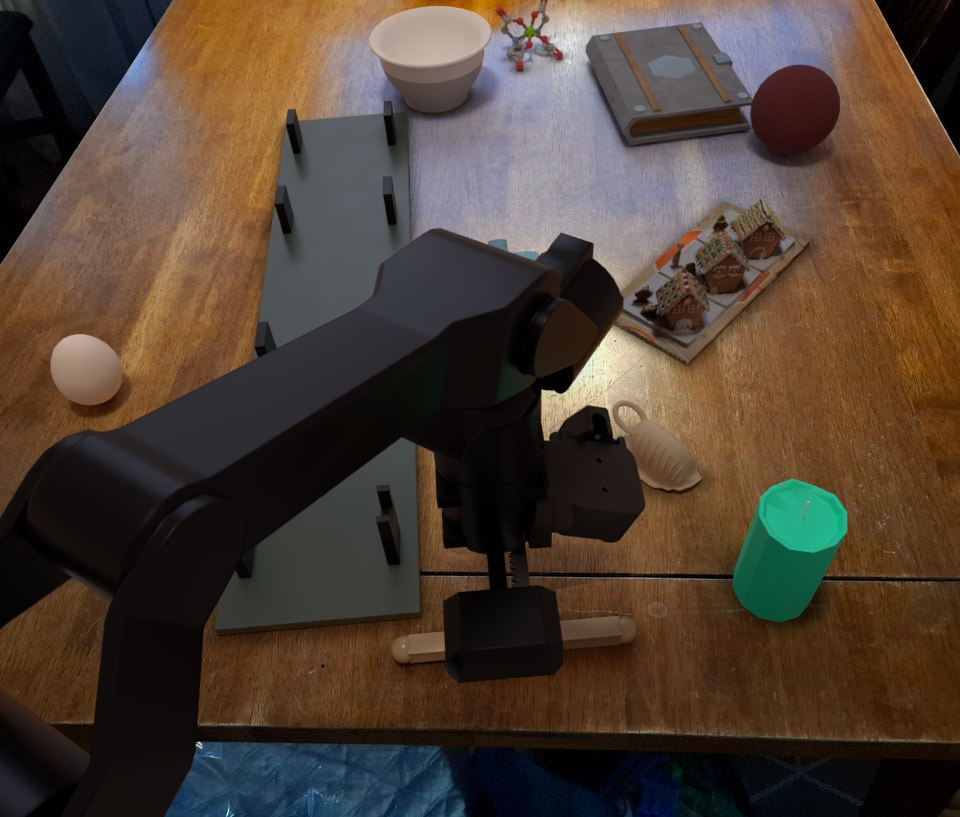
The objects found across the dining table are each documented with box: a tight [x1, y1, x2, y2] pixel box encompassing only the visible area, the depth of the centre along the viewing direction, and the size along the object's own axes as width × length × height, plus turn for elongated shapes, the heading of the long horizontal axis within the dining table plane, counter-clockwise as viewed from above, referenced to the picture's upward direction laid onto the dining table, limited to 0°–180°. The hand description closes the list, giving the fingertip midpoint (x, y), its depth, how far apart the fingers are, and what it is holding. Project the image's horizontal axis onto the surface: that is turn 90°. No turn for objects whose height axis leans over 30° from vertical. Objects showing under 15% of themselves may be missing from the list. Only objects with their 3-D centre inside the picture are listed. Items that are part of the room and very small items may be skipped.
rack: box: [214, 100, 422, 636], centre depth 87 cm, size 72×16×8 cm, turn 4°
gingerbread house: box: [613, 197, 812, 366], centre depth 87 cm, size 11×23×7 cm, turn 137°
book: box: [585, 21, 753, 146], centre depth 111 cm, size 21×16×5 cm
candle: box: [732, 478, 848, 623], centre depth 62 cm, size 6×6×12 cm
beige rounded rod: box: [390, 615, 638, 664], centre depth 64 cm, size 2×19×2 cm, turn 94°
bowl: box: [368, 5, 493, 114], centre depth 113 cm, size 16×16×9 cm
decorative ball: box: [749, 64, 841, 155], centre depth 100 cm, size 10×10×10 cm
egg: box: [50, 333, 124, 406], centre depth 81 cm, size 6×6×8 cm
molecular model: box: [495, 0, 564, 71], centre depth 119 cm, size 7×8×7 cm
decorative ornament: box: [611, 399, 703, 492], centre depth 73 cm, size 4×8×5 cm, turn 38°
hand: (497, 587), depth 57 cm, fingers open, 9 cm apart
